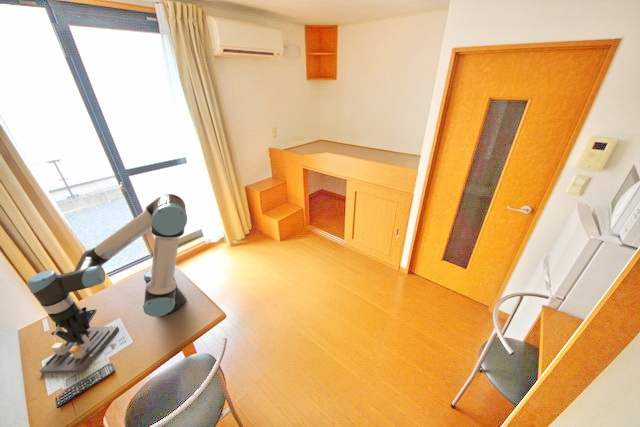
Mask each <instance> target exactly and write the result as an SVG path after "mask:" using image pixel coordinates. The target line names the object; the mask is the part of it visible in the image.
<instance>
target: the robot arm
mask: <svg viewBox="0 0 640 427" xmlns="http://www.w3.org/2000/svg"><path fill="white" fill-rule="evenodd" d="M186 209H187V208H186V204H185V202H184V200H183V199H182V198H181V197H180V196H178V195H176V194H172V193H165V194H162V195H161V196H159V197H157V198H155V199H154V200H153V201H152V202H151V203H149V204H147V205H146V206H145V210H144V211H142V212H141V213H140V214H139V215H137V216H136V217H134V218H133V219H131V220H130V221H129V222H127V223H126V224H125V225H124V226H122V227H121V228H119V229H117V231H115V232H114V233H113V234H111V235H110V236H108V237H107V238H105V239H104V240H102V242H100V243H98V244H97V245H96V246H94V247H92V248H87V250H85V251H84V252H83V253H82V254H81V257H80V259H79V261H78V262H77V264H76V266H75V268H74V270H73V271H69V272H66V273H62V274H61V273H60V274H58V272H56V271H55V270H44V271H41V272H38V273H36V274H34V275H32V276H31V277H29V278H28V280H27V282H26V285H27V288H28V289H29V290H30V293H31V294H32V295H33V296H34V297H35V299H36V300H37V301H38V302H39V304H40V306H41V307H42V308H43V310H44V311H45V312H46V313H47V316H48V317H49V318H50V320H51V321H53V322H54V323H55V327H56V328H55V330H54V331H52V332H51V336H57V337H58V338H60V339H62V340H64V341H65V342H68V343H73V342H77V344H78V345H81V346H82V347H83V348H89V347H90V346H91V345H92V343H91V342H90V340H89V339H88V338H89V336H88V334H87V333H88V332H89V331H87V329H89V328H90V327H91V326H90V322H88V318H87V314H86V311H87V307H86V306H82V307H78V305H77V304H76V302H75V300H74V299H73V298H74V297H72V295H71V294H70V293H73V292H77V291H82V290H85V289H89V288H90V289H91V288H92V287H94V286H100V285H101V284H103V283H104V282H105V281H106V271H105V270H104V268H103V265H104V264H106V263H107V262H109V261H110V260H111V259H112V258H114V257H115V256H116V255H118V254H119V253H120V252H122V251H123V250H125V249H126V248H127V247H129V246H130V245H131V244H132V243H134V242H135V241H136V240H138V239H139V238H140V237H142V236H143V235H145V234H146V233H148V232H149V231H150V232H151V234H152V235H153V236H154V244H153V246H154V247H153V252H152V254H153V255H152V264H151V269H149V270H147V271H146V272H145V273H144V275H143V278H144V282H145V289H144V290H145V292H144V301H143V304H142V305H143V306H142V308H143V312H144V314H145V315H147V316H149V317H153V318H155V317H156V318H157V317H158V318H159V317H162V316H168V315H170V314H174V313H175V312H176V311H179V309H182V307H183V306H184V304H185V303H184V301H185V302H186V296H185V293H184V292H183V291H181V289H180V288H179V287H178V284H177V282H176V279H175V271H176V263H177V255H178V247H179V242H180V240H179V239H180V237H181V236H182V237H183V235H184V234H185V227H186V225H187V222H188V214H187V210H186ZM183 303H184V304H183ZM182 305H183V306H182ZM181 306H182V307H181ZM62 328H63V329H62ZM64 329H65V330H66V331H65V330H64ZM66 332H68V333H69V334H68V333H66Z"/></svg>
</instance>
